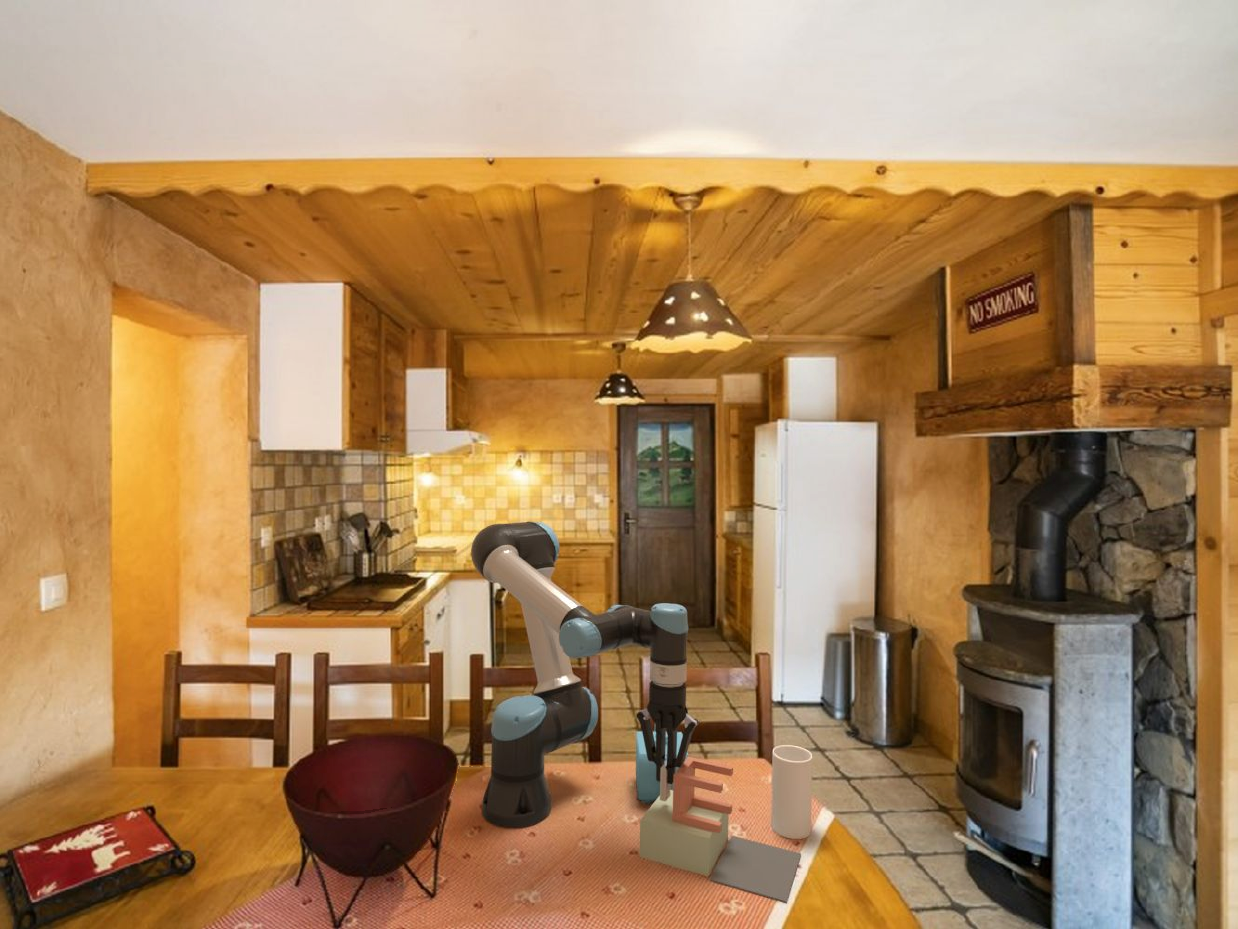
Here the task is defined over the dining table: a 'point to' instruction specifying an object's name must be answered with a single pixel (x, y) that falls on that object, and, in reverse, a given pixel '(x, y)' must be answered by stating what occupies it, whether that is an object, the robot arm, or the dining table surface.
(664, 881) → the dining table surface
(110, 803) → the dining table surface
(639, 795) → the teapot
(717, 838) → the step block
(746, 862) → the mat
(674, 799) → the stool
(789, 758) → the cup
